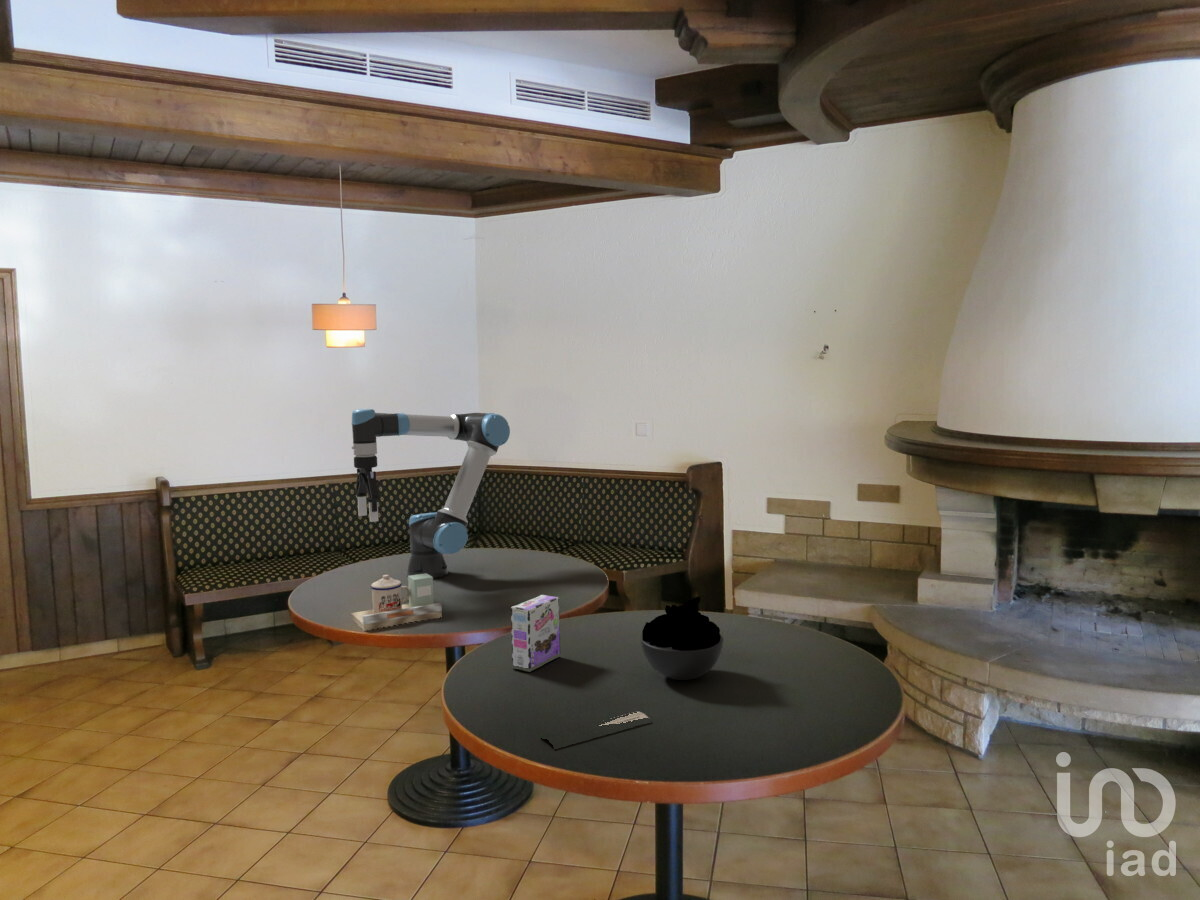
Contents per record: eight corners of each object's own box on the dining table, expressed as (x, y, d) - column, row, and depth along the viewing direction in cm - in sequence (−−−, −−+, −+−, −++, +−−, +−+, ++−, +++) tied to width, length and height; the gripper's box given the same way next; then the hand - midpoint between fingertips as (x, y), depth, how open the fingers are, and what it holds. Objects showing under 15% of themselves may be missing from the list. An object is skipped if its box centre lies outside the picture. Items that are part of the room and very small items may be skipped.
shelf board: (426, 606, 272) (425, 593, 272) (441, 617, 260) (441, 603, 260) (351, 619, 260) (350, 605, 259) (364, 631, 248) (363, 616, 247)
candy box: (530, 674, 211) (528, 609, 209) (511, 669, 214) (509, 606, 212) (561, 657, 222) (560, 596, 221) (543, 653, 226) (541, 593, 224)
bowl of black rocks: (665, 699, 193) (664, 618, 191) (627, 670, 211) (626, 597, 210) (739, 684, 201) (739, 607, 199) (697, 658, 219) (696, 587, 217)
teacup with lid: (377, 618, 253) (375, 580, 252) (368, 611, 261) (366, 574, 260) (416, 611, 260) (414, 574, 259) (405, 604, 267) (404, 568, 266)
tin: (427, 604, 268) (426, 573, 267) (434, 608, 263) (432, 577, 262) (409, 607, 265) (407, 575, 264) (415, 611, 260) (414, 579, 259)
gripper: (344, 453, 290) (347, 514, 292) (364, 459, 269) (367, 525, 271) (366, 452, 294) (368, 512, 296) (387, 457, 273) (390, 522, 275)
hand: (368, 518), depth 284 cm, fingers open, 13 cm apart
